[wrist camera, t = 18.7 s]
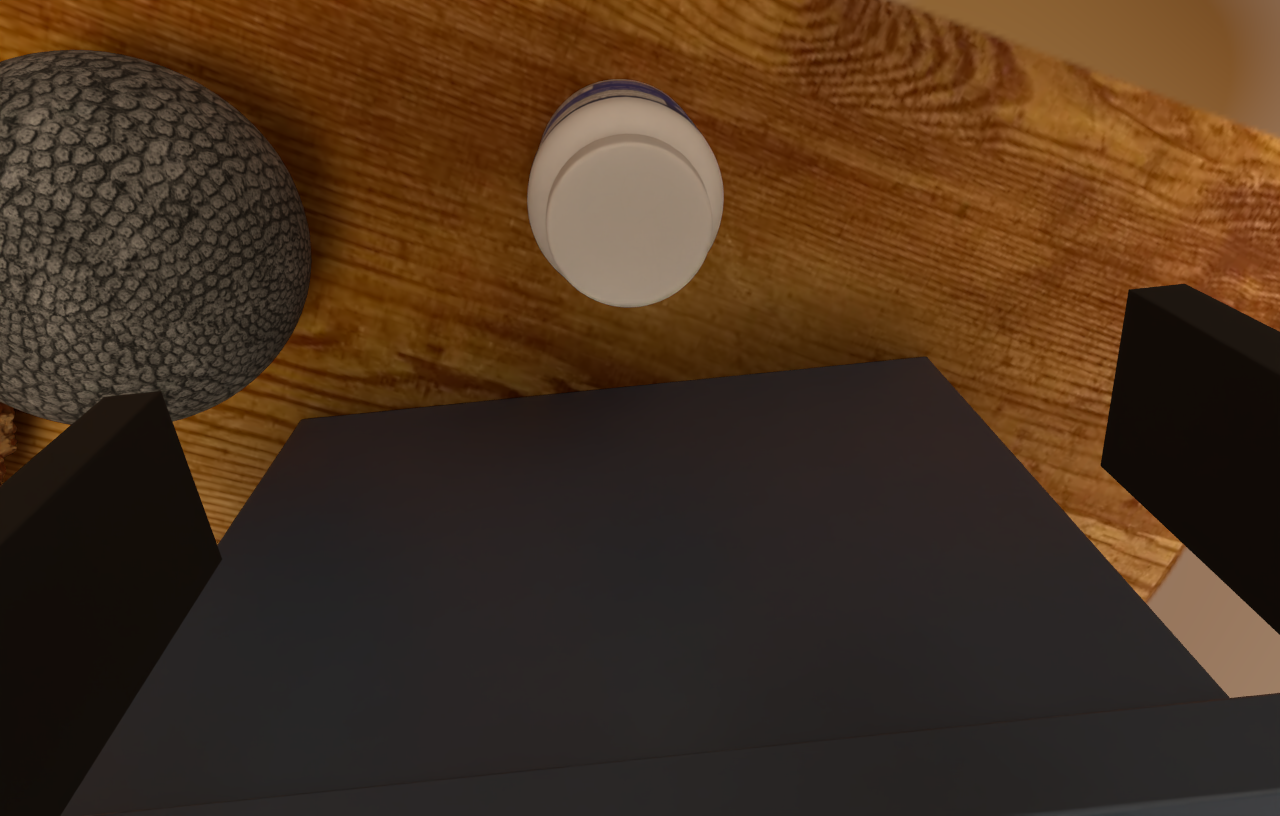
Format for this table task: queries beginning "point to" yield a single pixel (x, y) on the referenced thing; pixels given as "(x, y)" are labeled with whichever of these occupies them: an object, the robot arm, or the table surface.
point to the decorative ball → (138, 238)
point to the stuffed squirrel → (6, 435)
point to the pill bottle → (624, 194)
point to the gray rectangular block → (675, 624)
